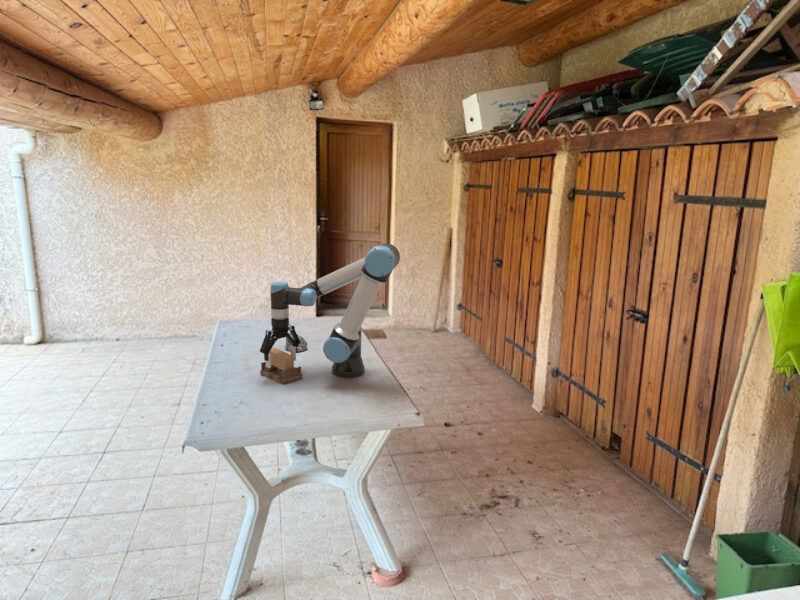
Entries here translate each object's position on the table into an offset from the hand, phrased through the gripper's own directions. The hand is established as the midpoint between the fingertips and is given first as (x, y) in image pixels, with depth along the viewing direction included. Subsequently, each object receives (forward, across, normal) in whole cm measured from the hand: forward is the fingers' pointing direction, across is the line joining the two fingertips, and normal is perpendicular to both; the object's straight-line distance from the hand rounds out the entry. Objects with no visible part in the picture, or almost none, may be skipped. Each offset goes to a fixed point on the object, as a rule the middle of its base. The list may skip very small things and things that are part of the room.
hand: (281, 363), depth 227 cm
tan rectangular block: (+1, 0, -1) cm, 1 cm away
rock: (+6, -29, -26) cm, 40 cm away
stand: (+6, 0, 0) cm, 6 cm away
